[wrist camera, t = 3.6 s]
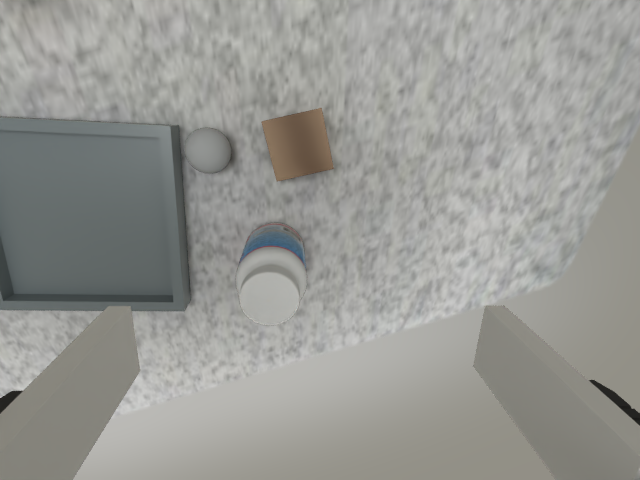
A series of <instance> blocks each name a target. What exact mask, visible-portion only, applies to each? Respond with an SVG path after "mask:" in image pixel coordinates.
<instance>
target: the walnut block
mask: <svg viewBox="0 0 640 480" xmlns="http://www.w3.org/2000/svg"><path fill="white" fill-rule="evenodd" d="M262 126H263V129H264V133H265V137H266V141H267V145H268V149H269V153H270V157H271V161H272V165H273V169H274V173H275V176H276V180H277V181H282V180H286V179H290V178H295V177H299V176H304V175H308V174H312V173H317V172H321V171H326V170H330V169H334V167H333V163H332V158H331V153H330V148H329V143H328V138H327V133H326V128H325V123H324V118H323V113H322V108H319V109H314V110H310V111H306V112H301V113H297V114H292V115H288V116H284V117H279V118H275V119H271V120H266V121H262Z"/></svg>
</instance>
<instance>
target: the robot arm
mask: <svg viewBox="0 0 640 480" xmlns="http://www.w3.org/2000/svg"><path fill="white" fill-rule="evenodd" d="M473 366H474V368H475V369H476V371H477V372H478V373H479V375H480V376H481V378H482V379H483V380H484V382H485V383H486V384H487V386H488V387H489V389H490V390H491V391H492V393H493V394H494V395H495V397H496V398H497V400H498V401H499V402H500V404H501V405H502V406H503V408H504V409H505V411H506V412H507V414H508V415H509V416H510V418H511V419H512V420H513V422H514V423H515V424H516V426H517V427H518V429H519V430H520V431H521V433H522V434H523V436H524V437H525V438H526V440H527V441H528V443H529V444H530V445H531V447H532V448H533V449H534V451H535V452H536V454H537V455H538V456H539V458H540V459H541V460H542V462H543V463H544V464H545V466H546V467H547V469H548V470H549V472H550V473H551V474H552V476H553V477H554V478H555V480H640V413H638V412H637V411H636V410H635V409H631V406H630V405H629V404H628V403H627V402H625V401H624V400H623V399H622V398H621V397H619V396H618V395H617V394H616V393H615V392H613V391H612V390H610V389H608V388H606V387H605V386H603V385H601V384H600V383H598V382H596V381H595V380H588V379H586V378H585V377H584V376H583V375H582V374H581V373H579V372H578V371H577V370H576V369H575V368H574V367H573V366H572V365H571V364H569V363H568V362H567V361H566V360H565V359H564V358H563V357H562V356H561V355H559V354H558V353H557V352H556V351H555V350H554V349H553V348H552V347H550V346H549V345H548V344H547V343H546V342H545V341H543V339H541V338H540V337H539V336H538V335H537V334H536V333H535V332H533V331H532V330H531V329H530V328H529V327H528V326H527V325H526V324H524V323H523V322H522V321H521V320H520V319H519V318H518V317H517V316H515V315H514V314H513V313H512V312H511V311H510V310H509V309H508V308H506V307H505V306H485V309H484V314H483V319H482V324H481V329H480V334H479V339H478V344H477V349H476V354H475V360H474V365H473ZM139 372H140V367H139V360H138V353H137V346H136V339H135V332H134V325H133V318H132V311H131V306H108V307H107V308H106V309H105V310H104V311H103V312H102V313H101V314H100V315H99V316H98V317H97V318H96V319H95V320H94V321H93V322H92V323H91V324H90V325H89V326H88V327H87V328H86V329H85V330H84V331H83V332H82V333H81V334H80V335H79V336H78V337H77V338H76V339H75V340H74V341H73V342H72V343H71V344H70V345H69V346H68V347H67V348H66V349H65V350H64V351H63V352H62V353H61V354H60V355H59V356H58V357H57V358H56V359H55V360H54V361H53V362H52V363H51V364H50V365H49V366H48V367H47V368H46V369H45V370H44V371H43V372H42V373H41V374H40V375H39V376H38V377H37V378H36V379H35V380H34V381H33V382H32V383H31V384H30V385H29V386H28V387H27V388H26V389H25V390H24V391H11V392H10V393H8V394H6V395H5V396H3V397H2V398H0V480H73V478H74V477H75V475H76V473H77V472H78V470H79V469H80V467H81V465H82V464H83V462H84V460H85V459H86V457H87V456H88V454H89V452H90V451H91V449H92V447H93V446H94V444H95V443H96V441H97V439H98V438H99V436H100V435H101V433H102V431H103V430H104V428H105V427H106V425H107V423H108V422H109V420H110V418H111V417H112V415H113V414H114V412H115V410H116V409H117V407H118V406H119V404H120V402H121V401H122V399H123V397H124V396H125V394H126V393H127V391H128V389H129V388H130V386H131V385H132V383H133V381H134V380H135V378H136V376H137V375H138V373H139Z"/></svg>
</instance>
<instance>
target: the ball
mask: <svg viewBox="0 0 640 480" xmlns="http://www.w3.org/2000/svg"><path fill="white" fill-rule="evenodd" d="M185 155H186V158H187V160H188V162H189V163H190V165H191V166H192V167H193V168H195V169H196V170H198V171H200V172H203V173H216V172H219V171H221V170H222V169H224V168H225V167H226V166H227V164H228V163H229V161H230V158H231V147H230V143H229V141H228V140H227V138H226V137H225V136H224V135H223V134H222V133H221V132H220V131H218V130H216V129H213V128H200V129H197V130H195V131H194V132H192V133H191V134H190V135H189V137H188V138H187V140H186V143H185Z"/></svg>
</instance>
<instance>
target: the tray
mask: <svg viewBox="0 0 640 480" xmlns="http://www.w3.org/2000/svg"><path fill="white" fill-rule="evenodd" d="M190 300H191V294H190V279H189V265H188V251H187V236H186V222H185V207H184V193H183V179H182V164H181V150H180V135H179V125H160V124H140V123H120V122H100V121H80V120H60V119H40V118H19V117H0V310H61V311H104V310H105V309H106V308H107V307H108V306H131V311H185V309H186V308H187V306H188V304H189V302H190Z"/></svg>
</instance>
